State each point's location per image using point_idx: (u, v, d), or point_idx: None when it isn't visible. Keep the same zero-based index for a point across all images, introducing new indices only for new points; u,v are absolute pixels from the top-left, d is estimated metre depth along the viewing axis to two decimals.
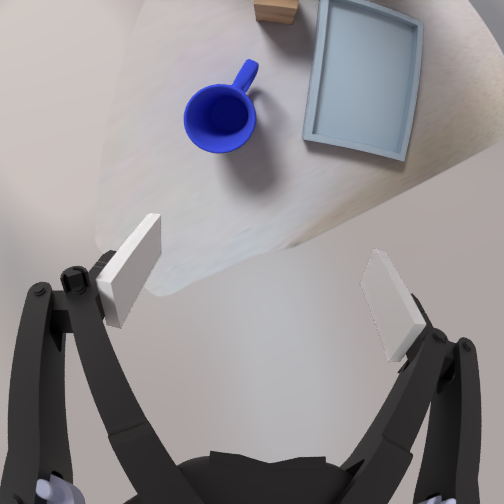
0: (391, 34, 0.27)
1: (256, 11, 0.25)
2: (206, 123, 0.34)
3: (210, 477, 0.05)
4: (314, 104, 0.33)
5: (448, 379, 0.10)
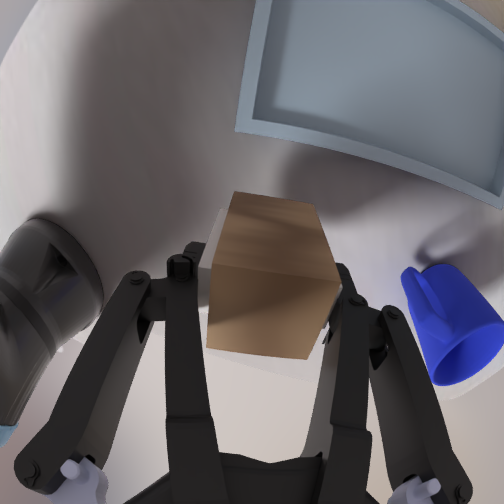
0: None
1: None
2: None
3: (210, 477, 0.05)
4: (470, 186, 0.17)
5: (380, 350, 0.12)
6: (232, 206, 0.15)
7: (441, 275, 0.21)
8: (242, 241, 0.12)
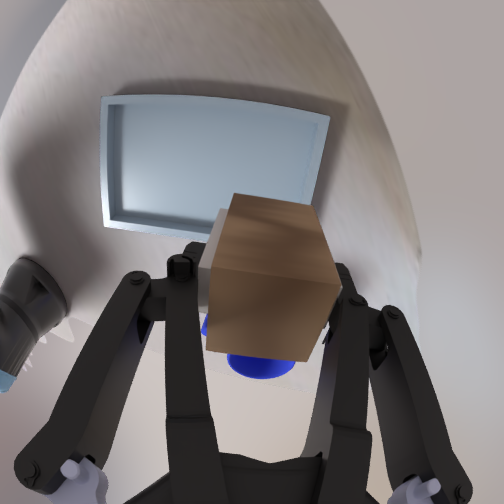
0: (136, 134, 0.27)
1: None
2: None
3: None
4: None
5: (380, 350, 0.12)
6: (232, 208, 0.15)
7: None
8: (241, 244, 0.12)
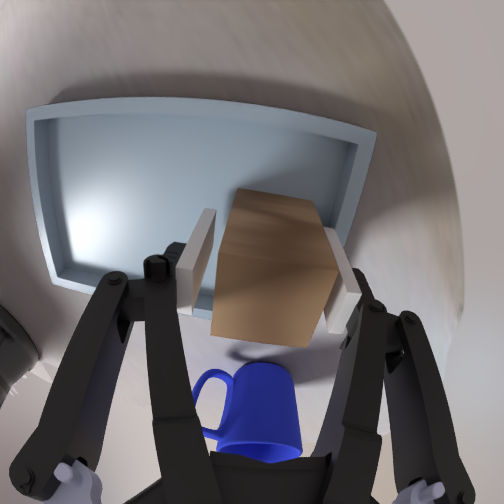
0: (75, 161, 0.17)
1: None
2: None
3: None
4: None
5: (396, 354, 0.12)
6: (236, 201, 0.16)
7: (247, 377, 0.26)
8: (246, 233, 0.13)
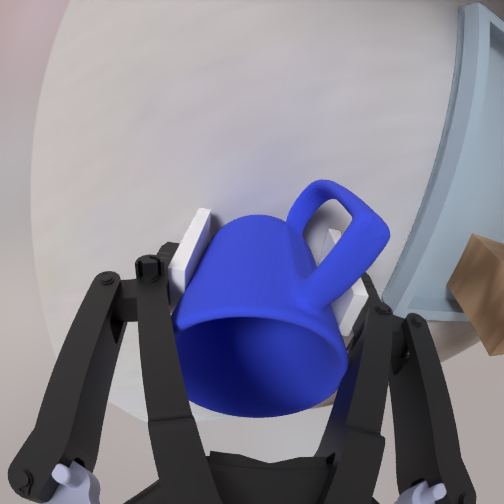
0: None
1: (473, 324, 0.15)
2: None
3: (210, 477, 0.05)
4: (429, 260, 0.16)
5: (402, 356, 0.11)
6: None
7: (312, 256, 0.16)
8: None
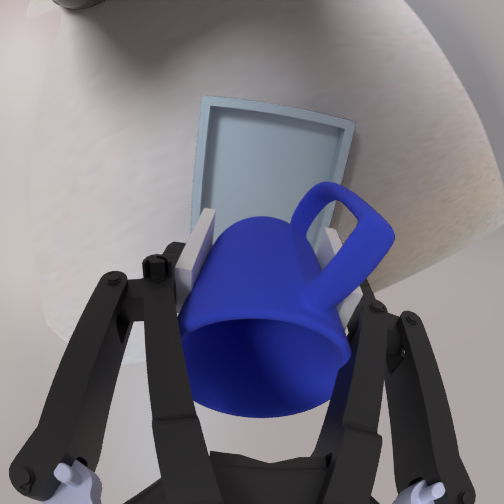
0: (303, 145, 0.29)
1: None
2: None
3: (210, 477, 0.05)
4: None
5: (397, 355, 0.12)
6: None
7: (316, 257, 0.16)
8: None
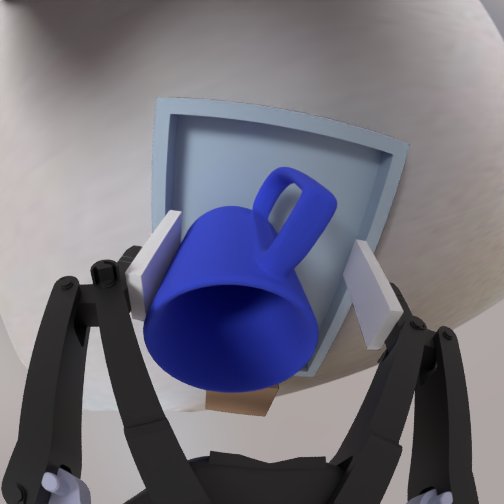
0: (324, 176, 0.18)
1: None
2: None
3: (210, 477, 0.05)
4: None
5: (430, 368, 0.11)
6: None
7: None
8: None
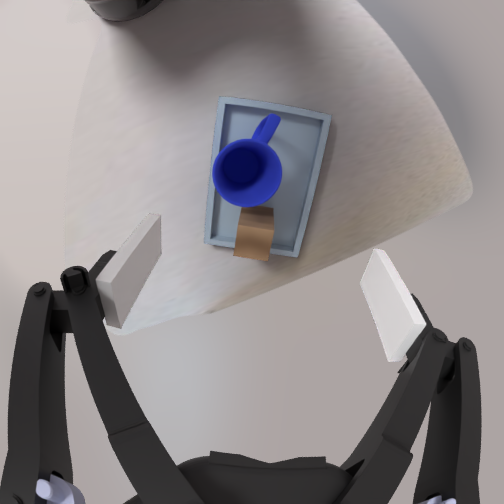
0: (293, 133, 0.38)
1: None
2: (223, 176, 0.38)
3: (210, 477, 0.05)
4: (210, 215, 0.44)
5: (448, 379, 0.10)
6: None
7: None
8: None
